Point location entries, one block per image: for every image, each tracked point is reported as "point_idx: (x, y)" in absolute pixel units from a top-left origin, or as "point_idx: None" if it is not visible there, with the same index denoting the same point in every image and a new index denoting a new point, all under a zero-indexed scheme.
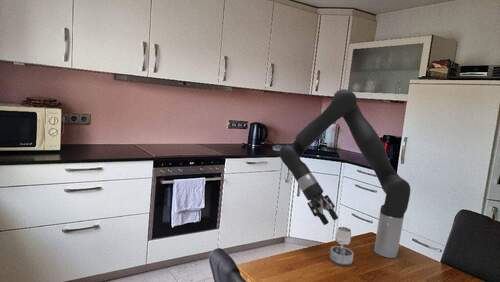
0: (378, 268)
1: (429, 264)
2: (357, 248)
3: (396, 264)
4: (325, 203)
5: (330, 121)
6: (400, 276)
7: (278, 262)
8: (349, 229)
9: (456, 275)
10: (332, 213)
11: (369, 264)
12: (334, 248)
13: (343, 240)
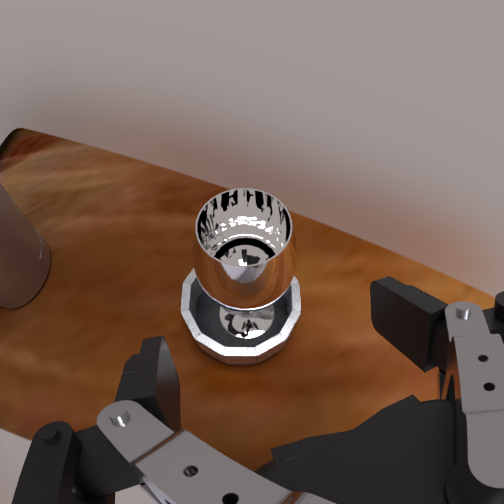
0: (152, 215)
1: (13, 180)
2: (59, 353)
3: (73, 209)
4: (283, 492)
5: None
6: (143, 165)
7: None
8: (201, 213)
9: (34, 137)
10: (167, 399)
11: (151, 245)
12: (240, 348)
13: (281, 232)
